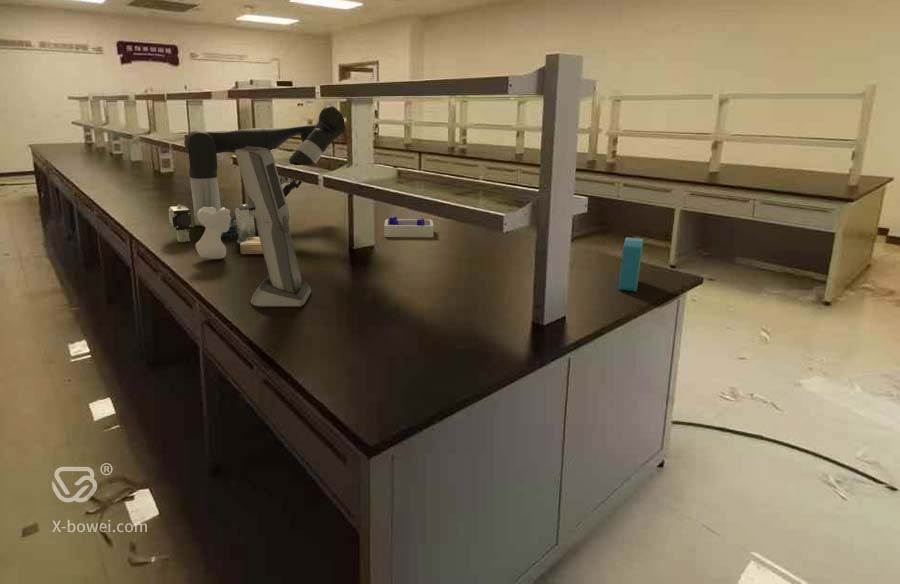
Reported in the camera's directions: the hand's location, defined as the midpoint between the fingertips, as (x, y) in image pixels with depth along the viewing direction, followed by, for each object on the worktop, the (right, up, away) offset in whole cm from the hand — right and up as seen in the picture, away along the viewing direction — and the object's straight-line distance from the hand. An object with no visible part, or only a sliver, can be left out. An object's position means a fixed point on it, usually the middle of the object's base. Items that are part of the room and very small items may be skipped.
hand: (276, 193), depth 193 cm
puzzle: (-19, -13, +8) cm, 24 cm away
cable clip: (+42, -12, +15) cm, 47 cm away
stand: (-1, -19, -11) cm, 23 cm away
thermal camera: (+18, -35, -55) cm, 67 cm away
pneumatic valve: (-30, -16, -3) cm, 34 cm away
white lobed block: (-11, -23, -22) cm, 34 cm away
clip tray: (+43, -12, +15) cm, 47 cm away
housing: (-9, -16, -2) cm, 19 cm away
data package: (+105, -31, -38) cm, 116 cm away
